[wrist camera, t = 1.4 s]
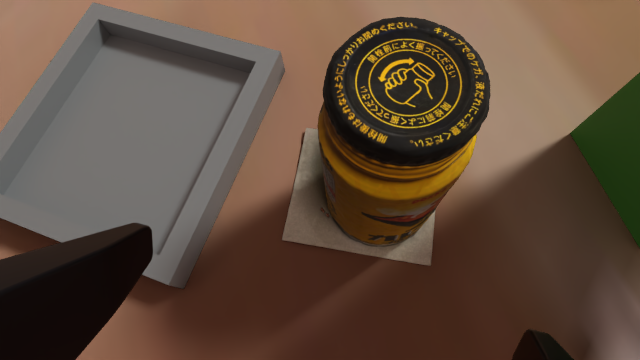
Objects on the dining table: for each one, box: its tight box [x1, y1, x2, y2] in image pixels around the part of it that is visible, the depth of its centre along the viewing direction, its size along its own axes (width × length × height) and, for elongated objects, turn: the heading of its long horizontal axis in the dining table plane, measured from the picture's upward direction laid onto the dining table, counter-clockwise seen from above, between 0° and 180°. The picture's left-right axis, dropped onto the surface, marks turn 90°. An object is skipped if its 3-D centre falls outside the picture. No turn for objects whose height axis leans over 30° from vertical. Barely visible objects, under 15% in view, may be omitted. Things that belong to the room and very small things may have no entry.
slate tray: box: [0, 3, 285, 289], centre depth 25 cm, size 15×14×2 cm
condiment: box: [282, 17, 490, 266], centre depth 18 cm, size 7×8×12 cm
